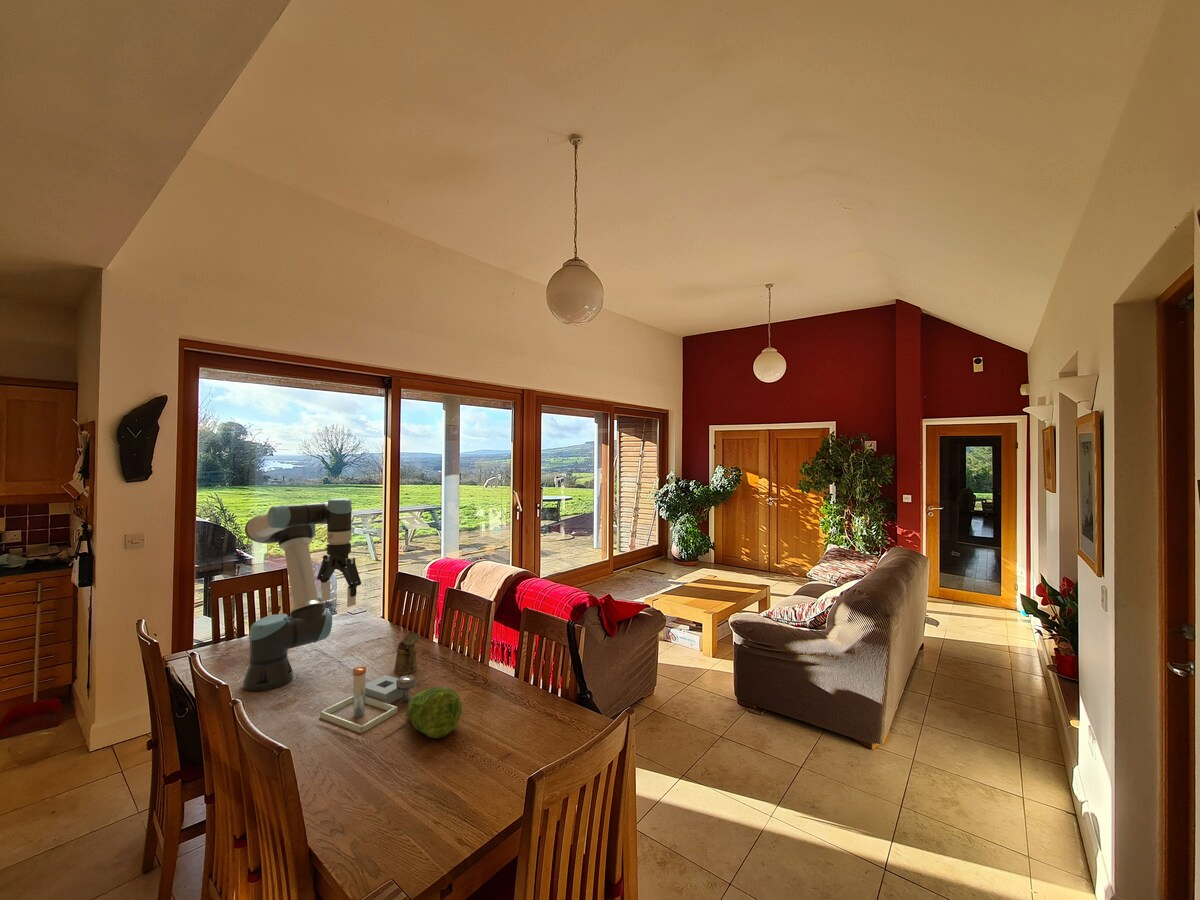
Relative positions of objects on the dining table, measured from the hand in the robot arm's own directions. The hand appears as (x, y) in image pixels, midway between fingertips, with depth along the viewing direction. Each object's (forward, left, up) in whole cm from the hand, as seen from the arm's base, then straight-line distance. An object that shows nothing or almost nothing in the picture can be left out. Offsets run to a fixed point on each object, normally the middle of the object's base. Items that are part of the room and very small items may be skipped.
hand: (338, 603), depth 173 cm
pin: (+21, -8, -31) cm, 38 cm away
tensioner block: (+18, +5, -32) cm, 37 cm away
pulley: (+27, +6, -32) cm, 42 cm away
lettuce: (+44, -1, -32) cm, 55 cm away
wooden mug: (+10, +22, -32) cm, 40 cm away
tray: (+21, -8, -32) cm, 39 cm away
